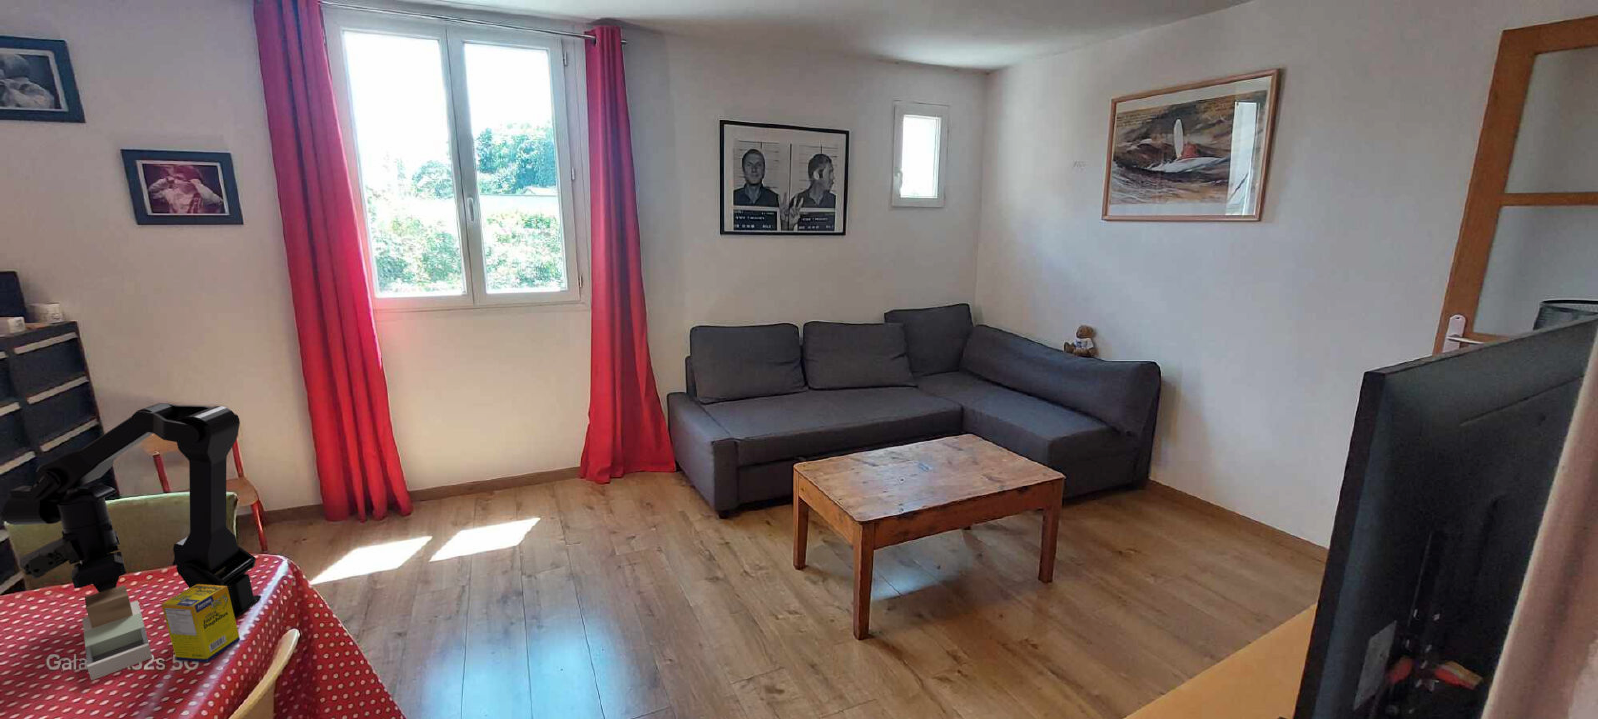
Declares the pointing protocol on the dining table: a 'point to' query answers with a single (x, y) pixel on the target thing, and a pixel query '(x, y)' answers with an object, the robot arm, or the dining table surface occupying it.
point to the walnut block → (108, 606)
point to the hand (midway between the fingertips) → (108, 597)
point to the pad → (114, 634)
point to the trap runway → (117, 652)
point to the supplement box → (201, 623)
